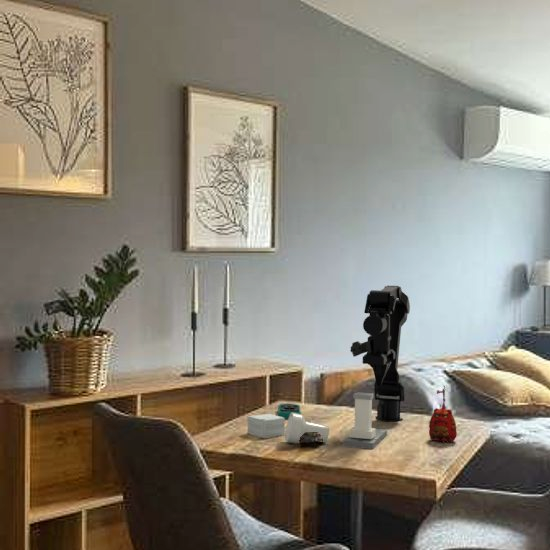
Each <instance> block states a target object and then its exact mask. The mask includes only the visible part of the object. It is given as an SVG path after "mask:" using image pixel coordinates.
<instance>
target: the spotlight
mask: <svg viewBox="0 0 550 550" xmlns="http://www.w3.org/2000/svg"><path fill="white" fill-rule="evenodd" d="M305 432H318V433H319V434H320V435H321V436H322V438H323V442H324V443H323V444H327V442H328V439H329V436H330V434H329V433H330V427H329V426H328V425H324V424H319V423H314V422H309V421H306V420H305V417H304V415H302V413H301V414H297V413H291V414H290V416H289V419H287V424H286V426H285V435H284V436H285V437H284V439H285V440H284V441H285V443H288V444H292V443H293V445H297V444H298V443H299V442H300V441H299V440H300V437H301V436H302V435H303V434H304V433H305Z"/></svg>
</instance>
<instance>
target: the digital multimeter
mask: <svg viewBox="0 0 550 550" xmlns="http://www.w3.org/2000/svg"><path fill="white" fill-rule="evenodd" d="M291 413H297V414H301V415H302V412H301V406H300V405H299V404H295V403H283V404H281V403H280V404H278V406H277V416H280V417H283V418H285V420H288V419H289V416H290V414H291Z"/></svg>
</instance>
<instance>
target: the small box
mask: <svg viewBox="0 0 550 550" xmlns="http://www.w3.org/2000/svg"><path fill="white" fill-rule="evenodd" d="M285 421H286V419H285V418H283V417H280V416H278V415H275V414H270V413H265V414H258V415H257V414H256V415H250V416H249V415H248V416H247V425H246V426H247V428H246V429H247V432H246V433H247V434H248V433H249V435H252V436H255V437H259V438H263V439H266V438H272V437H280V435H281V436H285V433H286V426H285V424H286V423H285Z"/></svg>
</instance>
